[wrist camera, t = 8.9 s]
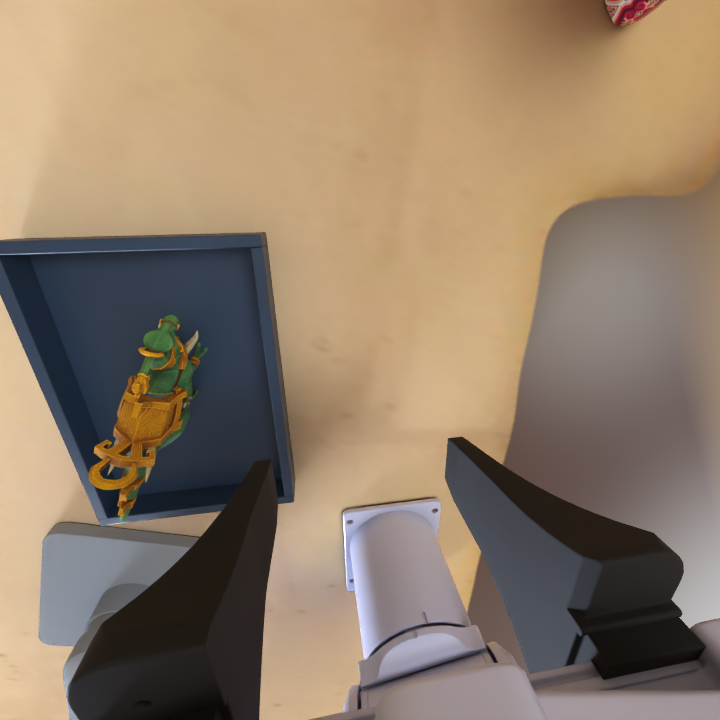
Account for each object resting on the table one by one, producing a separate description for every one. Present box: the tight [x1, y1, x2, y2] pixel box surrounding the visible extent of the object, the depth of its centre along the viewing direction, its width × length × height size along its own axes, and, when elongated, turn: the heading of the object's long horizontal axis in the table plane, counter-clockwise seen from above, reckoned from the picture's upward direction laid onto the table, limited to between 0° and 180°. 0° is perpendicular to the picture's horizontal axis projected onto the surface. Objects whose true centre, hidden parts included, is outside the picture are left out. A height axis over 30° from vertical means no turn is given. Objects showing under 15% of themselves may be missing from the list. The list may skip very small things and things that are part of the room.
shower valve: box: [39, 522, 199, 720], centre depth 25 cm, size 12×6×15 cm
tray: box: [0, 232, 295, 526], centre depth 20 cm, size 17×12×2 cm
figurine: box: [89, 315, 207, 522], centre depth 17 cm, size 3×12×8 cm, turn 157°
